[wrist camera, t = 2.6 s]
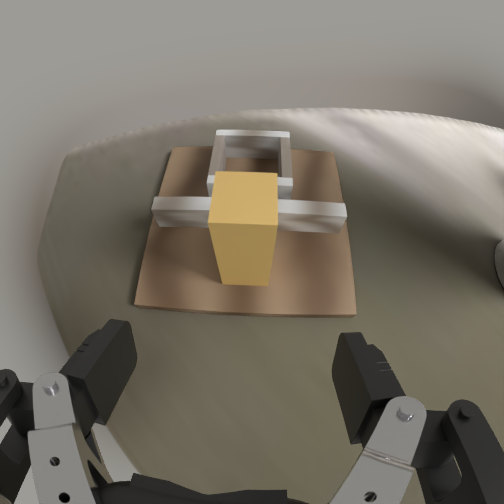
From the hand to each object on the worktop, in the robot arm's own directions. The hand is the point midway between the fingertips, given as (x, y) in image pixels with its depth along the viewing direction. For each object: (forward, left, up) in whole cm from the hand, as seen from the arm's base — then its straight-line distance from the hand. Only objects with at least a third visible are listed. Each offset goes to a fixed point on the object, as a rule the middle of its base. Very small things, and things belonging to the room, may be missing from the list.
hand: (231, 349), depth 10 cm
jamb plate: (0, -15, -14) cm, 21 cm away
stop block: (0, -9, -13) cm, 16 cm away
